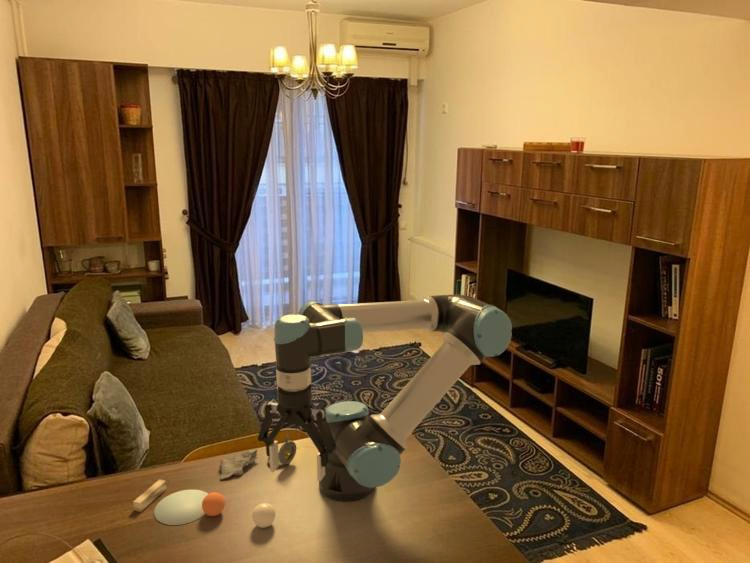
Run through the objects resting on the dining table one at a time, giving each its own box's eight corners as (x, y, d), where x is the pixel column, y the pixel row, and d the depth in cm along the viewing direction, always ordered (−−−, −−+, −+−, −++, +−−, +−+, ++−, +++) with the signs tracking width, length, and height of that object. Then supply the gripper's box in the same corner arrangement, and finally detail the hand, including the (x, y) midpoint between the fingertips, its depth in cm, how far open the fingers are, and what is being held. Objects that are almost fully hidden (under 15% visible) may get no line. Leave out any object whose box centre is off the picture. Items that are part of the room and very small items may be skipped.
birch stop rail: (160, 487, 149) (159, 479, 149) (166, 489, 149) (165, 480, 148) (134, 510, 140) (133, 501, 139) (140, 511, 139) (139, 503, 139)
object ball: (224, 504, 142) (222, 485, 141) (227, 517, 137) (225, 498, 136) (201, 509, 140) (200, 490, 139) (203, 523, 135) (202, 503, 134)
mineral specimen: (263, 472, 158) (263, 459, 157) (221, 482, 152) (221, 468, 151) (255, 460, 163) (256, 447, 162) (214, 469, 157) (215, 456, 156)
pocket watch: (270, 455, 165) (268, 424, 162) (298, 455, 165) (297, 424, 162) (264, 471, 157) (262, 439, 154) (293, 471, 157) (292, 439, 154)
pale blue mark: (209, 485, 150) (209, 484, 150) (215, 516, 138) (215, 515, 138) (153, 497, 145) (153, 496, 145) (154, 531, 133) (154, 530, 132)
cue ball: (273, 515, 138) (272, 496, 137) (278, 529, 133) (277, 509, 132) (250, 521, 136) (249, 501, 135) (255, 535, 131) (253, 514, 130)
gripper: (238, 384, 123) (244, 473, 128) (337, 399, 116) (339, 492, 121) (255, 372, 130) (260, 456, 135) (350, 384, 123) (351, 473, 128)
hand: (297, 473), depth 128 cm, fingers open, 11 cm apart
